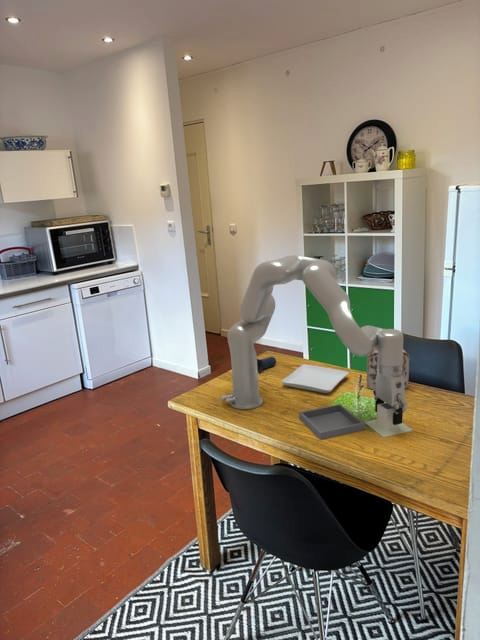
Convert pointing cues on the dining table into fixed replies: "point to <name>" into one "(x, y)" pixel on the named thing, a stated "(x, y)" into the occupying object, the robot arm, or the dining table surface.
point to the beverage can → (265, 363)
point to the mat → (383, 433)
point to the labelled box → (385, 416)
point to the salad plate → (315, 378)
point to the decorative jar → (373, 363)
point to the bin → (331, 421)
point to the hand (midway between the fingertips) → (388, 417)
